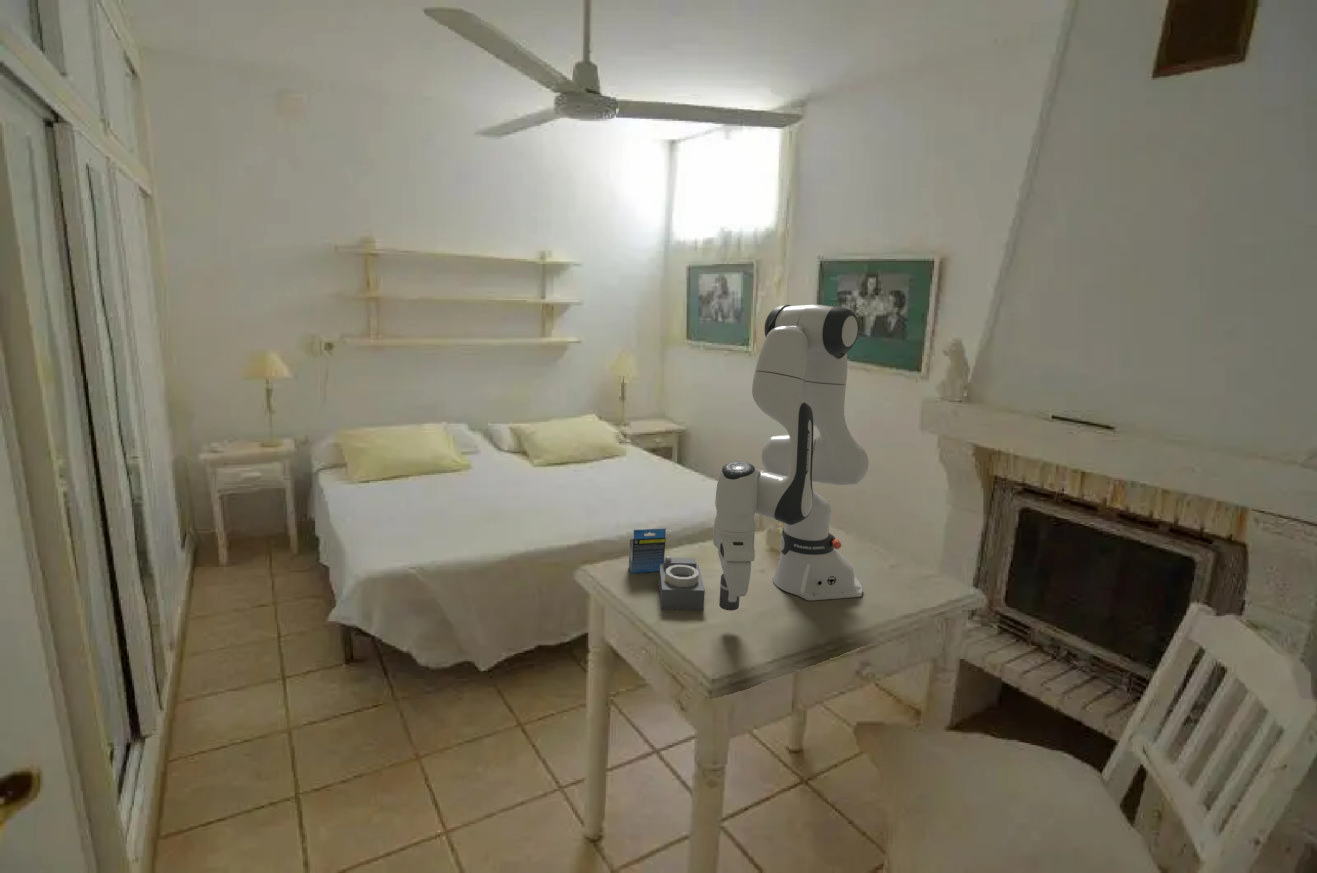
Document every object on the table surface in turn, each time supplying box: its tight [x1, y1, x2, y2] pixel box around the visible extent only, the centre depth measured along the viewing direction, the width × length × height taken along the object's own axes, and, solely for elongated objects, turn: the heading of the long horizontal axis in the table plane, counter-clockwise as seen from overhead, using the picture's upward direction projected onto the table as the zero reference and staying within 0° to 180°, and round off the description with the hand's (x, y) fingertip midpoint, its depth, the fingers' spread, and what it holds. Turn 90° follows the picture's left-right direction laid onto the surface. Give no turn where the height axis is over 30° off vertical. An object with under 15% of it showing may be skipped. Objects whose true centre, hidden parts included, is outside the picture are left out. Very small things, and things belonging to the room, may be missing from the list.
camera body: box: [658, 555, 706, 611], centre depth 161 cm, size 10×14×8 cm
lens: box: [718, 573, 741, 612], centre depth 147 cm, size 4×4×7 cm
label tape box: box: [628, 528, 667, 574], centre depth 174 cm, size 9×4×12 cm, turn 105°
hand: (730, 593), depth 147 cm, fingers closed on lens, 4 cm apart
